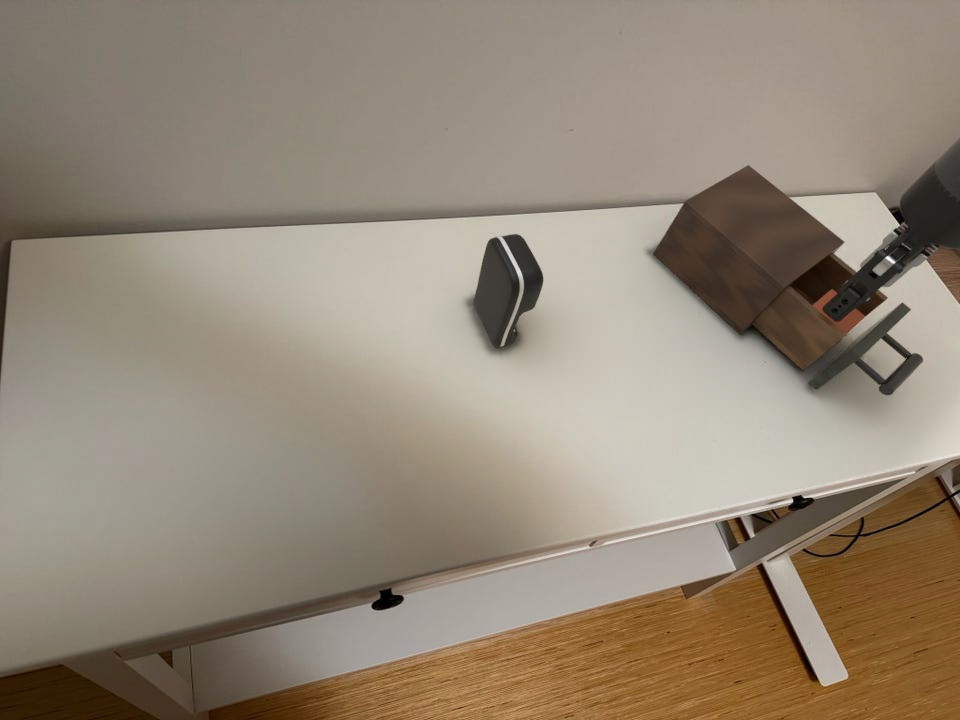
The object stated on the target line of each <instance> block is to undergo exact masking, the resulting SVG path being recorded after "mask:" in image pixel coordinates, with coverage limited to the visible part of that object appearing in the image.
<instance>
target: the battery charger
mask: <svg viewBox="0 0 960 720" xmlns="http://www.w3.org/2000/svg"><path fill="white" fill-rule="evenodd" d="M478 275H479V276H478V280H477V285H476V289H475V294H474V298H473V305H474V306H475V309H476V311H477V314H478V315H479V318H480V320H481V322H482V324H483V326H484V328H485V331H486V332H487V335H488V337H489V339H490V341H491V343H492V345H493V346H494V347H500V348H501V347H504V346H505V345H509V344H512V343H513V342H515V341H516V340H517V338H518V335H519V332H518V329H517V327H516V326H517V324H518V321H519V319H520V317H521V316H522V315H523V313H526V312H529V311H532V310H533V309H535V308H536V304H537V302H538V300H539V298H540V295H541V292H542V288H543V285H544V273H543V271H542V268H541V266H540V265H539V263H538V261H537V258H536V257H535V255H534V253H533V251H532V249H531V248H530V246H529V245H528V243H527V241H526V240H525V238H524V237H523V236H521V234H517V233H514V234H507V235H502V236H501V235H496V236H494V237H491V238H490V239H489V240H487V243H486V245H485V250H484V253H483V256H482V261H481V266H480V270H479V274H478Z"/></svg>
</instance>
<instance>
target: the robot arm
mask: <svg viewBox="0 0 960 720" xmlns="http://www.w3.org/2000/svg"><path fill="white" fill-rule="evenodd" d="M899 210H900V213H901V216H902V218H904V221H903V222H902V223H900V225H899V226H897V227H895V228H893V230H891V231H890V232H889V233H888V234H887V235H886V236H885V237H884V238H883V239H882V242H881V244H880V245H879V246H878V247H877V248H876V249H874V251H872V252H871V253H870V254H869V255H868V256H867V257H866V258H865V259H864V260H862V261H861V263H860V265H859V269H858V271H856V272H857V273H855V274H854V275H853V276H852V277H851V278H850V279H849V280H847V281H846V282H845V283H843V284H842V285H841V286H840V289H838V291H839V292H838V293H837V294H836V295H835V296H834V297H833V298H832V299H831V300H830V301H829V302H828V303H827V304H826V305H824V306H823V308H822V310H823V312H824V313H825V314H827V315H828V316H829V317H830V318H831V319H832V320H834V321H835V322H840V321H841V320H842V319H843V318H844V317H846V316H847V315H848V314H849V313H850V312H851V311H853V310H854V309H855V308H856V307H859V306H860V305H864V304H865V303H866V302H867V301H868V300H869V299H870V296H871V295H873V294H874V293H875V292H876V291H877V290H880V289H881V288H883V287H884V288H890V287H892V286H893V285H894V284H895V283H896V282H897V281H898V280H900V279H901V278H902V277H903V276H904V275H906V274H907V273H908V272H909V271H910V270H911V269H913V268H917V267H919V266H921V264H923V263H924V262H925V261H926V260H927V259H929V258H930V257H931V256H932V255H933V254H934V253H935V252H936V251H938V250H939V249H940V248H941V247H943V248H946V249H951V250H960V136H959V137H958V138H957V139H956V140H955V141H954V142H953V143H952V144H951V145H950V146H949V147H948V148H947V149H946V150H945V151H944V152H943V153H942V154H941V155H940V156H939V157H938V158H936V160H935V161H934V162H933V164H931V165H930V166H929V167H928V168H927V169H926V170H925V171H924V172H923V173H922V174H921V175H920V176H919V177H918V178H917V179H916V180H915V181H914V183H912V184H911V185H910V186H909V187H908V188H907V189H906V190H905V191H904V192H903V194H902V195H901V196H900V199H899ZM856 281H859V282H860V283H861V284H862V285H864V286H865V287H866V288H867V289H868V290H866V289H865V288H864V287H863V286H861V285H860V284H859V283H858V282H856Z"/></svg>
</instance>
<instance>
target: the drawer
mask: <svg viewBox="0 0 960 720" xmlns="http://www.w3.org/2000/svg"><path fill="white" fill-rule="evenodd" d="M857 272H858V271H856V270H855V269H853V268H852V267H851V266H850V265H849V264H848V263H846V262H845V261H844V260H843V259H841V258H840V257H839V256H837V255H836V254H835V253H831V254H830V255H829V256H828V257H826V258H825V259H824V260H822V261H821V262H820V263H818V264H817V265H816V266H814V267H813V268H812V269H810V270H809V271H808V272H807V273H805V274H804V275H803V276H801V277H800V278H799V279H797V280H796V281H795V282H793V283H792V284H791V285H789V286H788V287H787V288H786V289H784V290H783V292H782V293H781V294H780V295H779V296H778V297H777V298H776V299H775V300H774V301H773V302H772V303H771V304H770V305H769V306H768V307H767V308H766V309H765V310H764V311H763V312H762V313H761V314H760V315H759V316H758V317H757V318H756V319H755V320H754V322H753V323H752V326H754V328H756V330H758V331H759V332H760V333H761V334H762V335H763V336H764V337H765V338H767V340H768V341H770V342H771V343H772V344H773V345H774V346H775V347H776V348H777V349H778V350H780V352H782V353H783V354H784V355H785V356H786V357H787V358H789V359H790V361H792V362H793V363H794V364H795V365H796V366H797V367H798V368H799V369H800V370H802V371H805V369H807V368H808V367H809V366H810V365H812V364H813V363H814V362H816V361H817V360H818V359H820V358H821V357H822V356H824V354H826V353H827V352H828V351H830V350H831V349H832V348H833V347H835V345H837V344H838V343H839V342H840V341H842V340H843V339H845V338H846V337H847V334H845V333H844V332H843V331H842V330H840V329H839V328H838V327H837V326H836V325H835V324H833V323H832V322H831V321H830V320H829V319H828V318H826V317H825V316H824V315H823V314H822V313H821V312H819V311H818V310H817V309H816V308H815V307H814V306H812V305H813V304H814V303H815V302H817V301H818V300H819V299H820V298H821V297H823V296H824V295H825V294H826V293H827V292H829V291H830V290H831V289H833V290H834V291H835V292H836V293H838V292H839V291H838V289H840V286H841V285H842V284H843V283H845V282H846V281H847V280H849V279H850V278H851V277H852V276H853V275H854V274H855V273H857ZM856 282H858V283H859V284H860V285H861V286H863V287H864V288H865V289H866V290H868V289H867V288H866V287H865V286H864V285H862V284H861V283H860V282H859V281H856ZM888 299H889V297H888V296H887V295H886V294H884V293H883V292H882V291H881V290H880V289H878V290H877V291H876V292H875V293H874V294H873V295H871V296H870V299H869V300H868V301H867V302H866V303H865V304H864V305H860V306H859V307H856V309H857V310H858V311H859V312H861V313H862V314H863V315H864V316H865V317H864V318H866V317H867V316H868V315H869V314H871V313H872V312H873V311H874V310H876V309H877V308H879V306H881V305H882V304H883V303H884V302H886V301H887V300H888ZM911 311H912V308H910V307H909V306H908V305H907V304H905V303H904V302H900V303H899V304H898V305H897V306H896V307H894V308H892V310H890V311H889V312H888V313H886V314H885V315H884V316H882V318H880V319H879V320H877V321H876V322H875V323H873V324H872V325H871V326H870V327H868V328H867V329H866V330H865V331H864V332H862V333H861V334H860V335H859V336H857V337H855V339H854V340H853V341H851V342H850V343H849V344H848V345H847V346H846V347H845V348H843V350H842V351H840V353H838V354H837V355H836V356H835V357H834V358H833V359H831V361H830V362H828V363H827V364H825V366H823V368H822V369H821V370H819V372H818V373H817V374H815V375H814V376H813V377H812V378H811V379H810V380H808V382H807V385H809V386H810V387H811V388H812V389H813V390H814V391H817V390H819V389H820V388H822V387H823V386H824V385H825V384H827V383H828V382H830V381H831V380H833V379H834V378H836V377H837V376H838V375H839V374H841V373H842V372H844V371H845V370H846V369H847V368H849V367H850V366H851V365H853V364H854V365H855V366H857V367H858V368H859V369H860V370H861V371H862V372H864V373H865V375H867V376H868V377H869V378H870V379H872V381H874V382H875V383H876V384H877V385H878V391H879V393H881V395H884V396H892V395H893V394H894V393H895V392H896V391H897V390H898V389H899V388H900V387H901V385H903V383H904V382H905V381H906V380H907V379H908V378H909V377H910V376H911V375H912V374H913V373H914V372H915V371H916V370H917V369H918V368H919V367H920V366H921V365H922V363H923V362H924V357H923V356H922V355H921V354H919V353H917V352H913V353H912V352H910V351H909V350H908V349H907V348H905V347H904V346H903V345H902V344H901V343H900V342H898V341H897V340H896V339H895V338H894V337H892V336H891V335H890V334H889V332H890V331H891V330H892V329H893V328H894V327H895V326H896V325H897V324H898V323H899V322H900V321H901V320H902V319H903V318H904V317H906V316H907V314H909V313H910V312H911ZM880 340H883V341H884V342H885V343H886V344H887V345H888V346H890V347H891V348H892V349H893V350H894V351H896V352H897V353H898V354H899V355H900V356H902V358H903V359H904V360H903V361H902V362H901V363H900V364H899V365H898V366H897V367H896V368H895V369H894V370H893V371H892V372H891V373H890V374H889V376H887V377H886V378H884V377H883V376H882V375H880V374H879V373H878V372H877V371H876V370H875V369H874V368H873V367H871V365H869V364H868V363H867V362H866V361H864V360H863V359H862V357H863V356H865V355H866V354H867V353H868V352H869V351H870V350H871V349H872V348H873V347H874V346H875V345H876V344H877V343H878V342H879V341H880Z"/></svg>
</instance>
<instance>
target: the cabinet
mask: <svg viewBox="0 0 960 720" xmlns="http://www.w3.org/2000/svg"><path fill="white" fill-rule="evenodd" d="M844 244H845V241H844V240H843V239H842V238H841V237H839V236H838V235H837V234H835V233H834V232H833V231H832V230H831V229H829V227H827V226H826V225H824V224H823V223H822V222H821V221H819V220H818V219H817V218H816V217H815V216H814V215H812V214H810V213H809V212H808V211H807V210H806V209H804V207H802V206H801V205H799V204H798V203H797V202H795V201H794V200H793V199H792V198H791V197H790V196H788V195H787V194H786V193H784V192H783V191H782V190H781V189H779V188H778V187H777V186H775V184H773V183H772V182H770V181H769V180H768V179H767V178H766V177H764V176H763V175H762V174H760V173H759V172H758V171H757V170H756V169H754V168H753V167H751V166H750V165H749V164H748V165H746V166H744V167H743V168H741V169H738V170H737V171H735V172H734V173H732V174H730V175H728V176H726V177H724V178H723V179H720V181H717V182H716V183H714V184H713V185H711V186H708V187H707V188H704V190H701V191H700V192H698V193H697V194H694V195H693V196H691V197H690V198H688V199H686V200H685V201H684V202H683V203H682V205H681V206H680V208H679V210H678V212H677V214H676V215H675V217H674V218H673V220H672V222H671V223H670V225H669V227H668V228H667V230H666V232H665V233H664V235H663V236H662V238H661V239H660V242H659V243H658V245H657V246H656V248H655V249H654V251H653V253H652V254H653V256H655V257H656V258H657V259H658V260H659V261H660V262H661V263H662V264H663V265H665V267H666V268H667V269H668V270H670V272H672V273H673V274H674V275H675V276H676V277H677V278H678V279H679V280H681V281H682V283H684V284H685V285H686V286H687V287H688V288H689V289H690V290H691V291H693V293H695V294H696V295H697V296H698V297H699V298H700V299H701V300H702V301H703V302H704V303H705V304H706V305H707V306H708V307H710V308H711V309H712V310H713V311H714V312H715V313H716V314H717V315H718V316H719V317H721V319H722V320H724V322H726V323H727V324H728V325H729V326H730V327H731V328H732V329H733V330H734V331H736V333H738V334H739V335H741V334H743V333H744V332H746V331H747V330H748V329H749V328H751V326H753V325H752V323H753V322H754V320H755V319H756V318H757V317H758V316H759V315H760V314H761V313H762V312H763V311H764V310H765V309H766V308H767V307H768V306H769V305H770V304H771V303H772V302H773V301H774V300H775V299H776V298H777V297H778V296H779V295H780V294H781V293H782V292H783V290H784V289H786V288H787V287H788V286H789V285H791V284H792V283H793V282H795V281H796V280H797V279H799V278H800V277H801V276H803V275H804V274H805V273H807V272H808V271H809V270H810V269H812V268H813V267H814V266H816V265H817V264H818V263H820V262H821V261H822V260H824V259H825V258H826V257H828V256H829V255H830V254H831V253H834V254H835V253H836V252H837V251H838V250H839V249H840V248H841V247H842V246H843V245H844Z"/></svg>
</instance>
